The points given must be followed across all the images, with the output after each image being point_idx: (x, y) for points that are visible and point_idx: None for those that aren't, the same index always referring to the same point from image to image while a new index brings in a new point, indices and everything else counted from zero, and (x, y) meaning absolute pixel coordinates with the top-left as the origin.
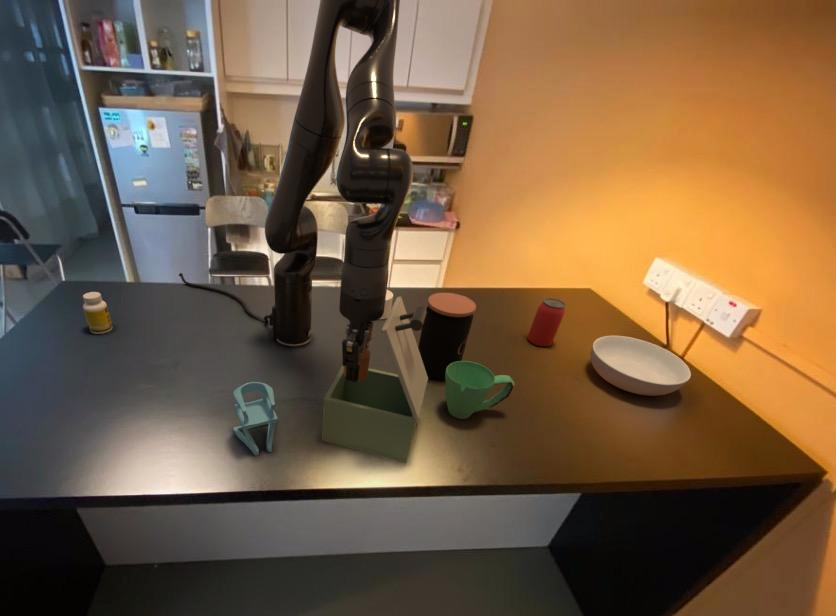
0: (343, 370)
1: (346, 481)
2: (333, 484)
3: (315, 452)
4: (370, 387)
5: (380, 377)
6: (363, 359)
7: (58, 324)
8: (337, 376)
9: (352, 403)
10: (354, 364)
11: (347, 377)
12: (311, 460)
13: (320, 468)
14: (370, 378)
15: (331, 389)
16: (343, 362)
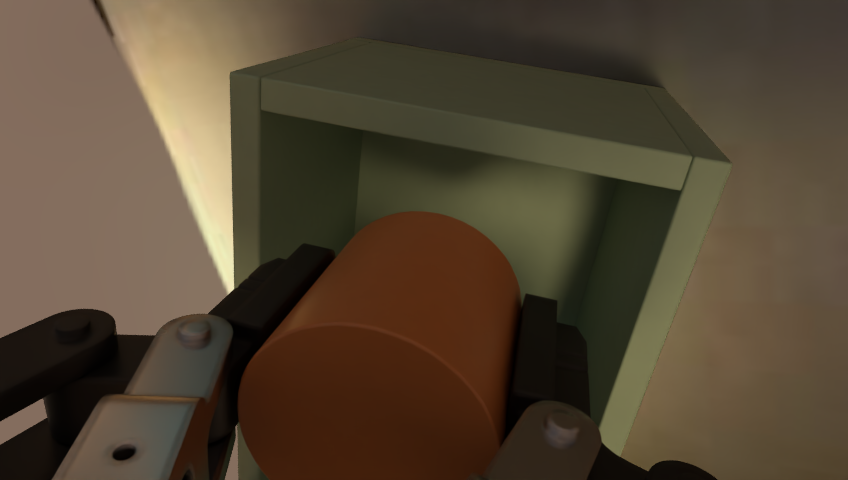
0: (401, 221)
1: (194, 164)
2: (165, 121)
3: (283, 22)
4: (609, 297)
5: (602, 391)
6: (273, 471)
7: None
8: (509, 133)
9: (252, 251)
10: (25, 437)
11: (257, 270)
12: (238, 14)
13: (213, 61)
14: (615, 326)
15: (342, 109)
16: (10, 342)
